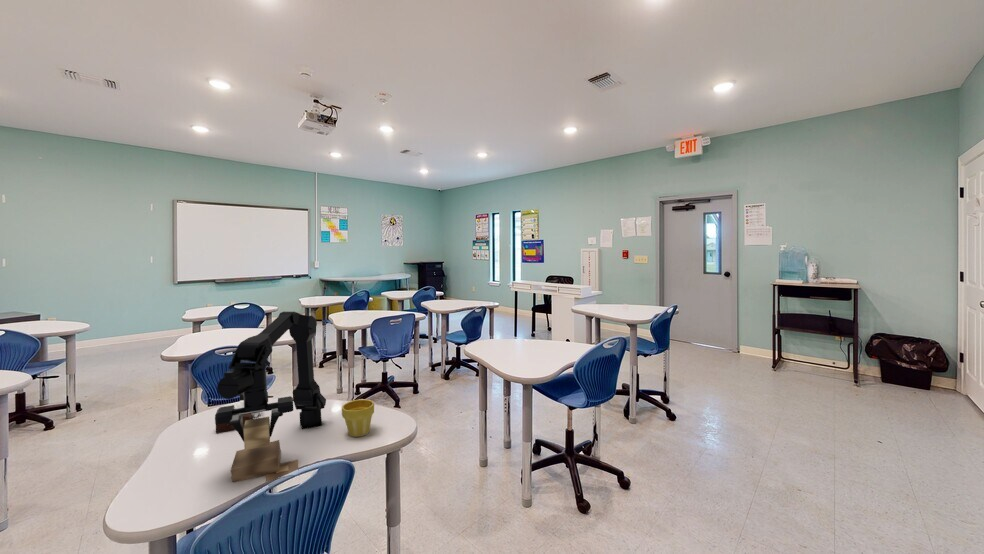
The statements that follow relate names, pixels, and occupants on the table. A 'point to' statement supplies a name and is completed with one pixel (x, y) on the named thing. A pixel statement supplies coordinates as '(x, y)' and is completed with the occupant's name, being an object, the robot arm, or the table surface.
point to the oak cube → (256, 433)
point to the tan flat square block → (256, 462)
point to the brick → (226, 427)
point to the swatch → (283, 470)
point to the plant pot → (358, 416)
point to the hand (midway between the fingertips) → (257, 438)
